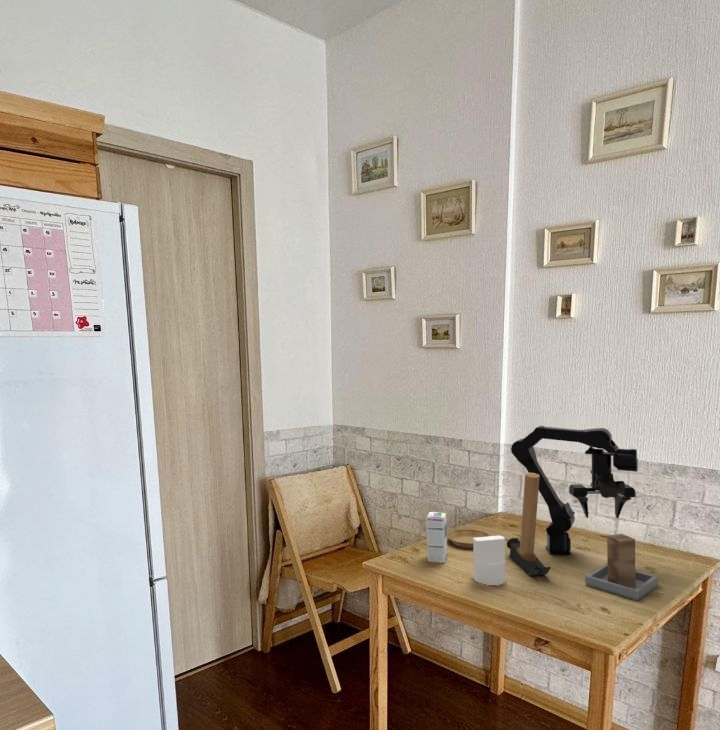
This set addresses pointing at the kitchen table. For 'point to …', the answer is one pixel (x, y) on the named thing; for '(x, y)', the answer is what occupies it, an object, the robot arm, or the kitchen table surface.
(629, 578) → the walnut block
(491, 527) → the kitchen table surface
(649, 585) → the tray
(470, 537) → the plant saucer
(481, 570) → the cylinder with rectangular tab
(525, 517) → the hammer
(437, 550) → the syrup box
